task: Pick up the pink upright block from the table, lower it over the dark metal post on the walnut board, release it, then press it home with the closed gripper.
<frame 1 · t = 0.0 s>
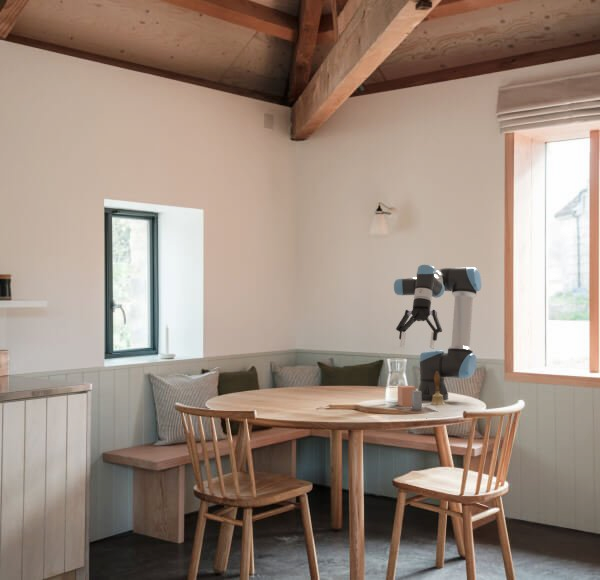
hand: (416, 347, 335), 28 cm above the table, tool tilted 20°, fingers open, 13 cm apart
board: (416, 413, 333), on the table
post: (416, 409, 334), resting on board
hand bell: (437, 407, 353), on the table
pink upright block: (406, 408, 348), on the table
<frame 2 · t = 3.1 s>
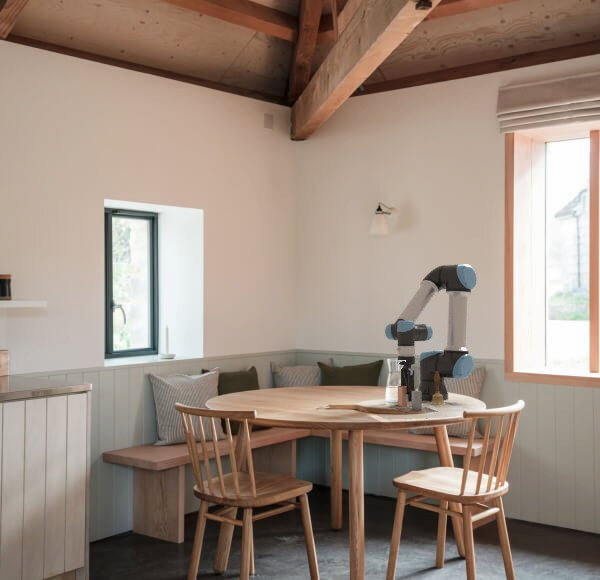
hand: (406, 407, 348), 0 cm above the table, tool pointing down, fingers closed on pink upright block, 6 cm apart
pink upright block: (406, 408, 348), on the table, touching gripper
everything else where it was.
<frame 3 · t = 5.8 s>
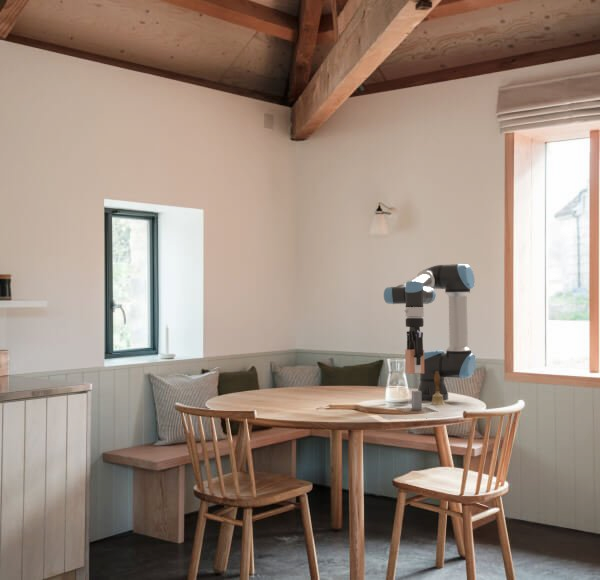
hand: (414, 372, 334), 17 cm above the table, tool pointing down, fingers closed on pink upright block, 6 cm apart
pink upright block: (414, 372, 334), point 17 cm above the table, touching gripper
everything else where it was.
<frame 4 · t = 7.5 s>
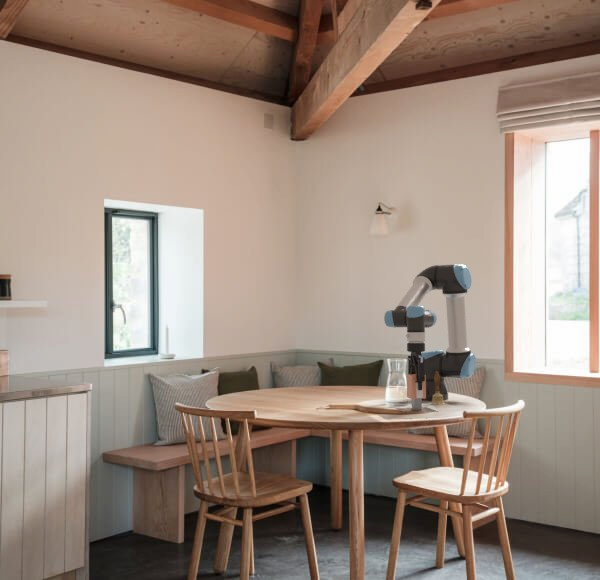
hand: (416, 396, 333), 7 cm above the table, tool pointing down, fingers closed on pink upright block, 6 cm apart
pink upright block: (416, 397, 333), point 7 cm above the table, touching gripper
everything else where it was.
when the fingers open (4 cm above the table, at t = 8.8 s): pink upright block drops 2 cm, resting on board.
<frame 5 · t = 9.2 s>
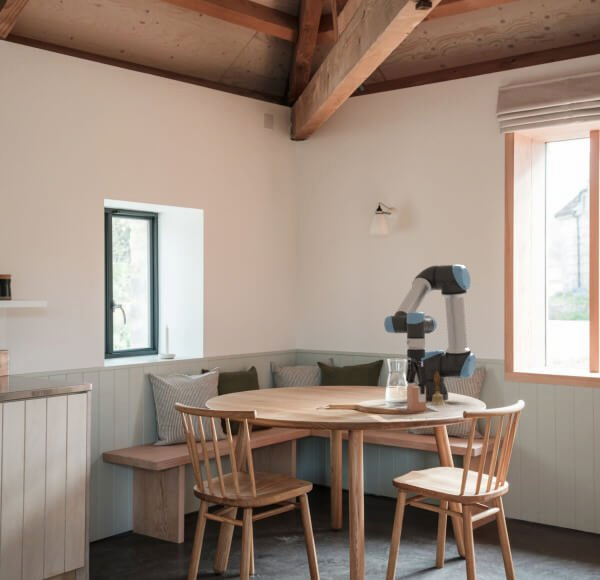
hand: (416, 400, 334), 6 cm above the table, tool pointing down, fingers open, 11 cm apart
pink upright block: (416, 409, 334), point 1 cm above the table, touching board
everything else where it was.
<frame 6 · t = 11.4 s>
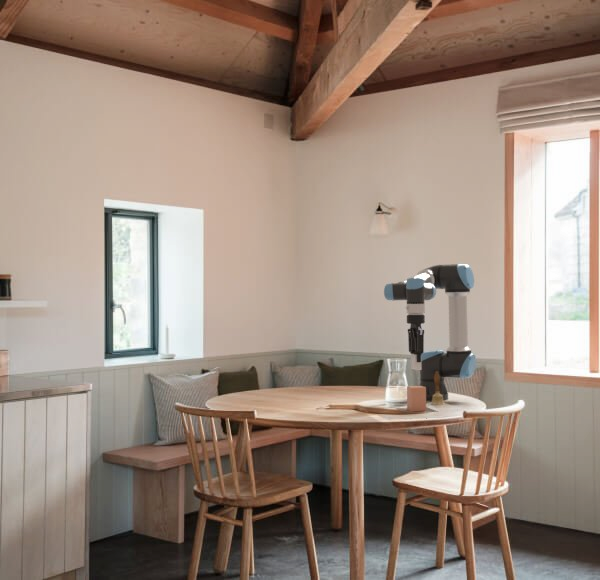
hand: (416, 369, 334), 19 cm above the table, tool pointing down, fingers open, 4 cm apart
nothing on the table moved.
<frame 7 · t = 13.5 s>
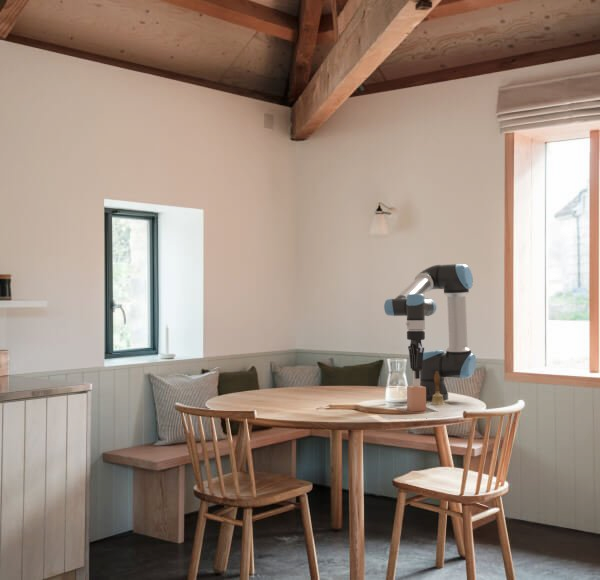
hand: (416, 386, 334), 12 cm above the table, tool pointing down, fingers closed
pink upright block: (416, 409, 334), point 1 cm above the table, touching board, gripper
everything else where it was.
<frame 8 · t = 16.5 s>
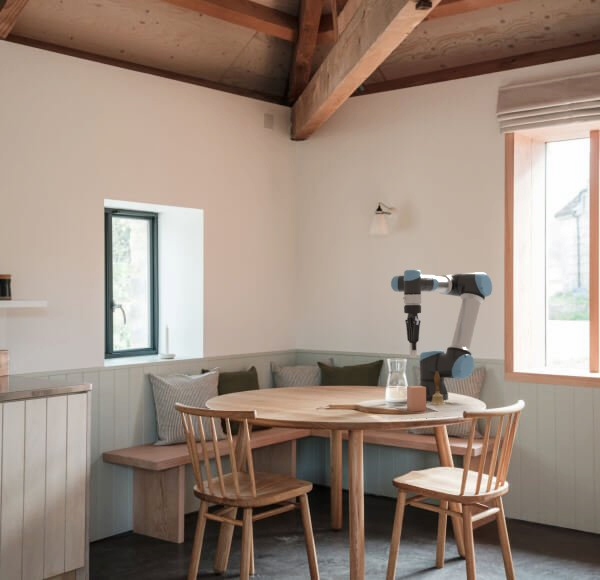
hand: (413, 357, 351), 22 cm above the table, tool pointing down, fingers closed
pink upright block: (416, 409, 334), point 1 cm above the table, touching board
everything else where it was.
at the end: pink upright block 0.1 cm from the post (horizontally); pink upright block point 1.5 cm above the table; pink upright block tilted 0° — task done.
